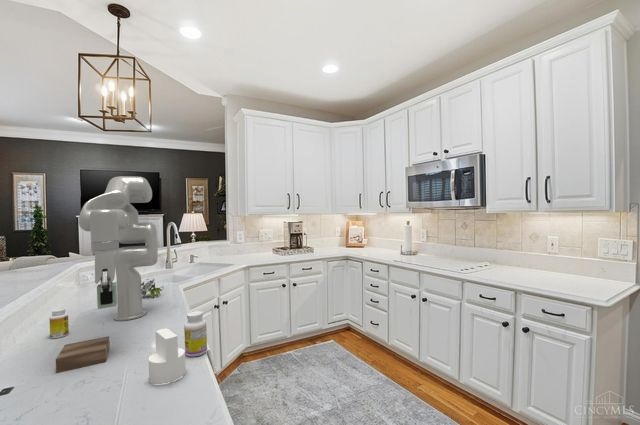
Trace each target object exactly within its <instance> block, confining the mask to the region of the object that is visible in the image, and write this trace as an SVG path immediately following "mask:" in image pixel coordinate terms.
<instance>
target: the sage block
mask: <svg viewBox="0 0 640 425" xmlns="http://www.w3.org/2000/svg"><path fill="white" fill-rule="evenodd" d="M111 291H112V294H113V303H112V304H105V305H101V302H100V292H101V283H100V284H99V283H98V284H97V286H96V295H97V296H96V300H97V301H96V302H97V304H96V305H97V310H102V309H108V308H114V307H115V308H116V307H118V304H117V281H113V282H112V283H111Z"/></svg>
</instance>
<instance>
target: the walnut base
mask: <svg viewBox="0 0 640 425" xmlns="http://www.w3.org/2000/svg"><path fill="white" fill-rule="evenodd" d="M110 348H111V347H110V336H109V335H108V336H104V337H98V338H94V339H87V340H83V341H78V342H73V343H69V344H68V343H67V344H64V346H63V347H62V348H61V351H60V352H59V353H58V355H57V356H56V358H55V373H56V374H58V373H62V372H63V373H64V372H67V371H71V370H75V369H80V368H84V367H90V366H92V365H93V366H94V365H98V364H102V363H105V362H107V360H108V356H109V351H110Z"/></svg>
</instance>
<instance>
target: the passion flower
mask: <svg viewBox="0 0 640 425" xmlns="http://www.w3.org/2000/svg"><path fill="white" fill-rule="evenodd" d="M141 287H142V299H143V298H144V297H145V296H146V295H147V293H148V292H149V293H150V297H151V298H152V299H155V295H156V297H158V296H159V295H160V294H161V292H163V290H164V289H165V288H164V285H162V286H160V287H156V282H155V278H152V280H148V281H147V282H146V283H145V281H143V282H141ZM161 288H162V289H161ZM158 294H159V295H158Z"/></svg>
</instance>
